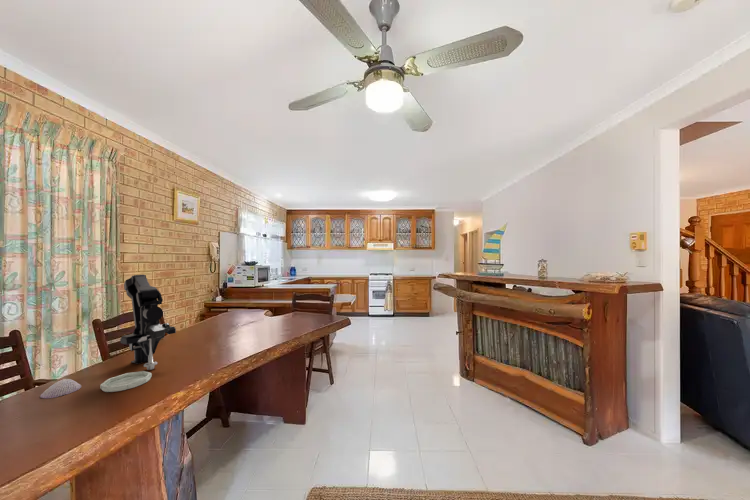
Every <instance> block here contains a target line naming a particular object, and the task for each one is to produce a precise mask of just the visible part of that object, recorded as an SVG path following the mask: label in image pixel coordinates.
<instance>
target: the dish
mask: <svg viewBox="0 0 750 500" xmlns="http://www.w3.org/2000/svg"><path fill="white" fill-rule="evenodd" d="M152 375H153V374H152V372H149V371H145V370H140V371H134V372H133V371H132V372H126V373H123V374H120V375H116V376H114V377H110V378H108V379H106V380H105V381H103V382H102V383H101V384H99V385H100V386H99V387H100V388H99V389H100V390H101V391H103V392H105V393H114V392H121V391H126V390H129V389H134V388H136V387H139V386H142V385H145V384H146V383H147V382H149V381H150V380H151V378H152Z"/></svg>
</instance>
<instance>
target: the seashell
mask: <svg viewBox="0 0 750 500" xmlns="http://www.w3.org/2000/svg"><path fill="white" fill-rule="evenodd" d="M81 388H82V384H81V383H79V382H77V381H75V380H73V379H71V378H63V379H61V380H59V381H56V382H55V383H53V384H52V385H50V386H49V387H48V388H46V390H44V391H43V392H42V393H41V394H40V396H39V398H40V399H46V400H47V399H53V398H54V399H55V398H59V397H61V396H65V395H70V394H71V393H75V392H76V391H77V392H78V391H79V390H80V389H81Z"/></svg>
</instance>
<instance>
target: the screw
mask: <svg viewBox="0 0 750 500" xmlns="http://www.w3.org/2000/svg"><path fill="white" fill-rule="evenodd" d="M148 340H149V342H148V350H149V355H148V361H147V362H145V363H144V364H143V365H142V366H143V367H144V368H146V370H147V371H152V370H154V369H155V366H156V365H158V361H154V359H153V358H154V354H152V353H153V351H152V349H153V347H152V339H148Z"/></svg>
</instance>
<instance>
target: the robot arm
mask: <svg viewBox="0 0 750 500" xmlns="http://www.w3.org/2000/svg"><path fill="white" fill-rule="evenodd" d="M123 288H124V291H126V296H127V297H128V298H130V299H131V305H132V306H131V307H132V313H133V321H134V330H133V332H132V333H130V334H126V335H122V336H121V337H120V340H119V342H120V344H123V345H129V350H130V351H131V352H133V353H134V355H133V356H134V358H133V359H134V360H131V361H130V363H132V364H135V365H140V364H143V363H144V364H145V363H148V355H149V350H148V342H149V340H148V339H152V347H153V349H152V351H153V353H152V354H153V355H154V354H155V353H156V350H157V348H158V345H159V342H160V341H161V340H162V339H163V338H165V335H166V334H168V335H173V334H176V333H177V329H176V327H175V326H171V325H170V323H169V322H166V323H165V322H164V323H163V324H160V320H161V318H162V317H163V316H164V311H163V309H162V308H160V307H159V305H162V304H163V302H164V300H163V297H162V293H161V292H160V290H159V289H158V288H157V287H156V286H153V285H150V282H149V281H148V278H147V275H145V274H134V275H131V276H130V278H127V279H125V281H124V283H123ZM153 360H154V357H153Z"/></svg>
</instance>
